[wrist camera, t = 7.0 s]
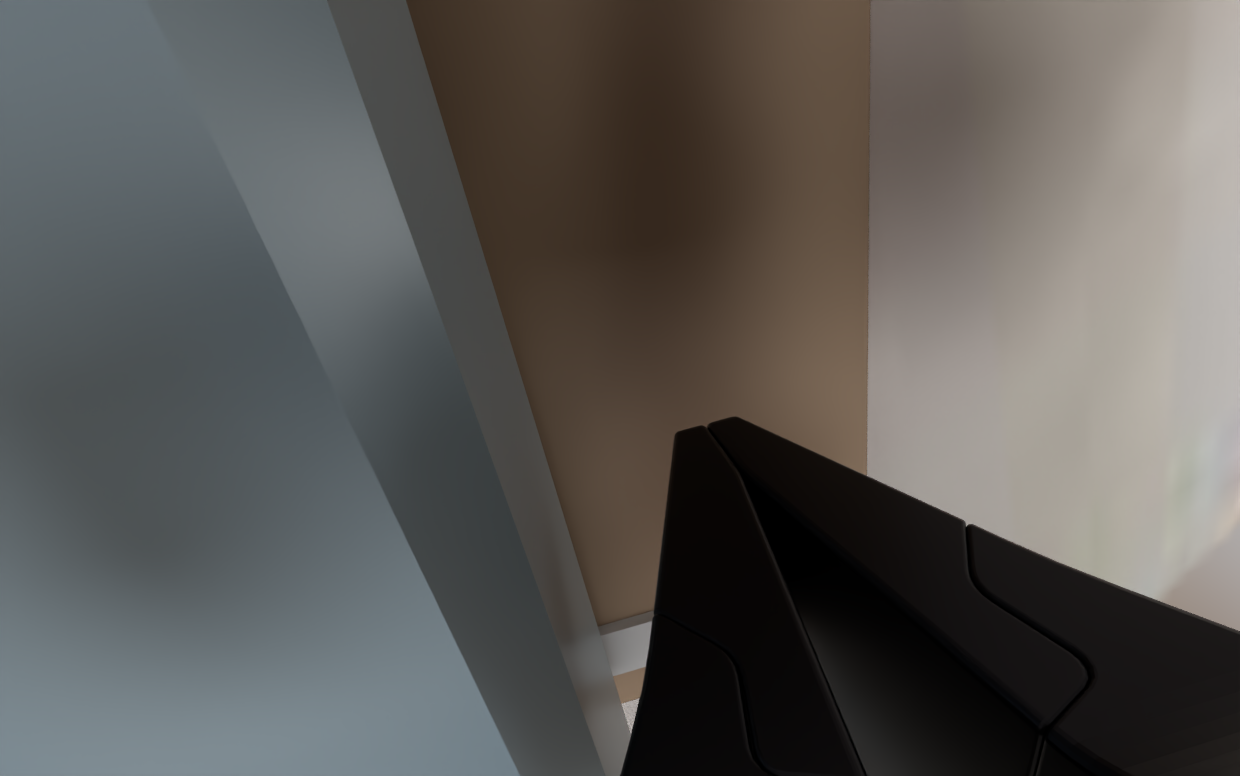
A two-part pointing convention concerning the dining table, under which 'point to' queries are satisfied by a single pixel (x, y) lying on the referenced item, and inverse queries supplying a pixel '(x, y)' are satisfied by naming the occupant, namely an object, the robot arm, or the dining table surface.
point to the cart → (266, 416)
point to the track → (664, 241)
